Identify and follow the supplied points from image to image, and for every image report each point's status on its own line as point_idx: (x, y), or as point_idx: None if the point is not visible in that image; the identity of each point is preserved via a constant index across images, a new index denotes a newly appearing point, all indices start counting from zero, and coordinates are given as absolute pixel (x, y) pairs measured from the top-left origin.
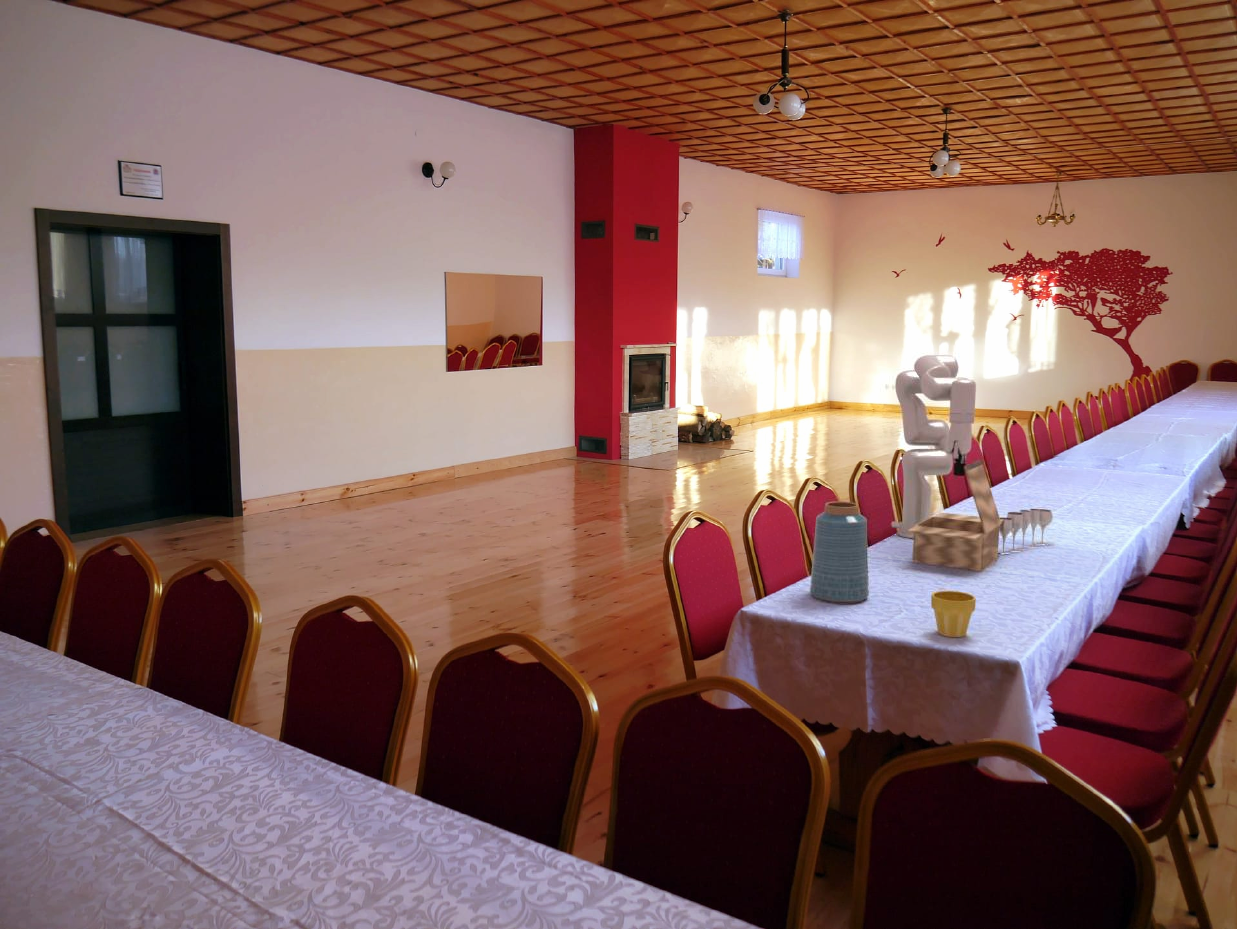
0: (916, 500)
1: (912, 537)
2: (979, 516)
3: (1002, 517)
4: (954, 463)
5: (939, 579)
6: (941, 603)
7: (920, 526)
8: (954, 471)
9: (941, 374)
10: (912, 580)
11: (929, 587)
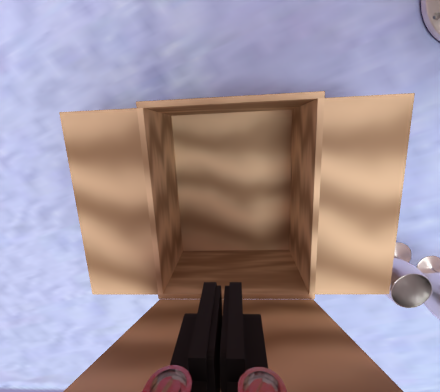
0: None
1: (421, 3)
2: (142, 316)
3: (428, 281)
4: (189, 356)
5: (74, 206)
6: None
7: (135, 124)
8: (201, 302)
9: None
10: (32, 168)
11: (13, 210)
